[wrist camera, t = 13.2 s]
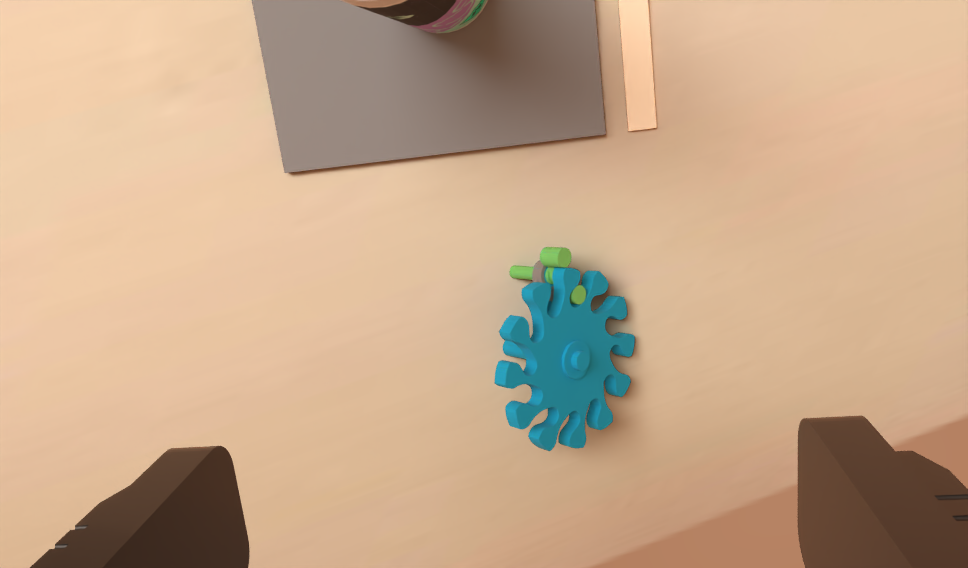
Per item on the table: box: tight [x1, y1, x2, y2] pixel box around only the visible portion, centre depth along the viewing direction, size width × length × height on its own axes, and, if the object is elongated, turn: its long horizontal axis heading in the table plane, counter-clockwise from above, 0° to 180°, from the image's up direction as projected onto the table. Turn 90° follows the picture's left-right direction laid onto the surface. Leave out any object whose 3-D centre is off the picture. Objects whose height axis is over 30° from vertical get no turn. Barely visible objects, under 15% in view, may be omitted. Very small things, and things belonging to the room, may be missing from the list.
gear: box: [495, 247, 635, 451], centre depth 43 cm, size 11×6×10 cm
